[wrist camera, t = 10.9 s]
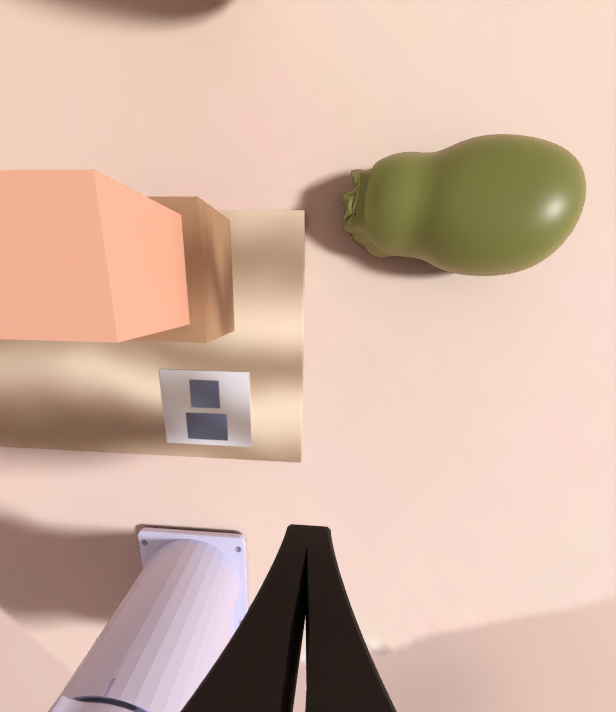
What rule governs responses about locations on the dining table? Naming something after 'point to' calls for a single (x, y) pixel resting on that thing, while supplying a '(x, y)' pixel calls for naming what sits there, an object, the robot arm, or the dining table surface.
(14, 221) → the top block
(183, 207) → the base block
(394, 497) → the dining table surface
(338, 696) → the robot arm
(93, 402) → the build board
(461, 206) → the pear
